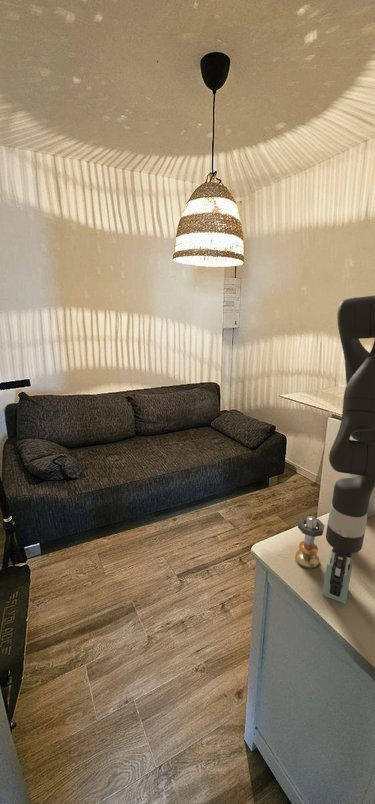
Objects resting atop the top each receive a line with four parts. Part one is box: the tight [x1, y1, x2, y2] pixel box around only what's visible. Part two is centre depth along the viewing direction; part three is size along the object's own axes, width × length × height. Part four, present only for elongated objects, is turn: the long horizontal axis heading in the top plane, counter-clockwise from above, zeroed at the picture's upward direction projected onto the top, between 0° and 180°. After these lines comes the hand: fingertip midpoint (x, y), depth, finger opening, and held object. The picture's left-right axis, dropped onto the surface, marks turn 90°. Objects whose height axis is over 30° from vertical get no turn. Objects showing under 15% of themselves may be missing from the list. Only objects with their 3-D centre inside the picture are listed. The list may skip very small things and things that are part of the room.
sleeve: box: [322, 550, 354, 605], centre depth 78 cm, size 5×5×9 cm
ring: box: [297, 516, 326, 538], centre depth 86 cm, size 6×6×1 cm
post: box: [294, 515, 320, 570], centre depth 87 cm, size 6×6×13 cm
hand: (336, 585), depth 79 cm, fingers closed on sleeve, 5 cm apart
